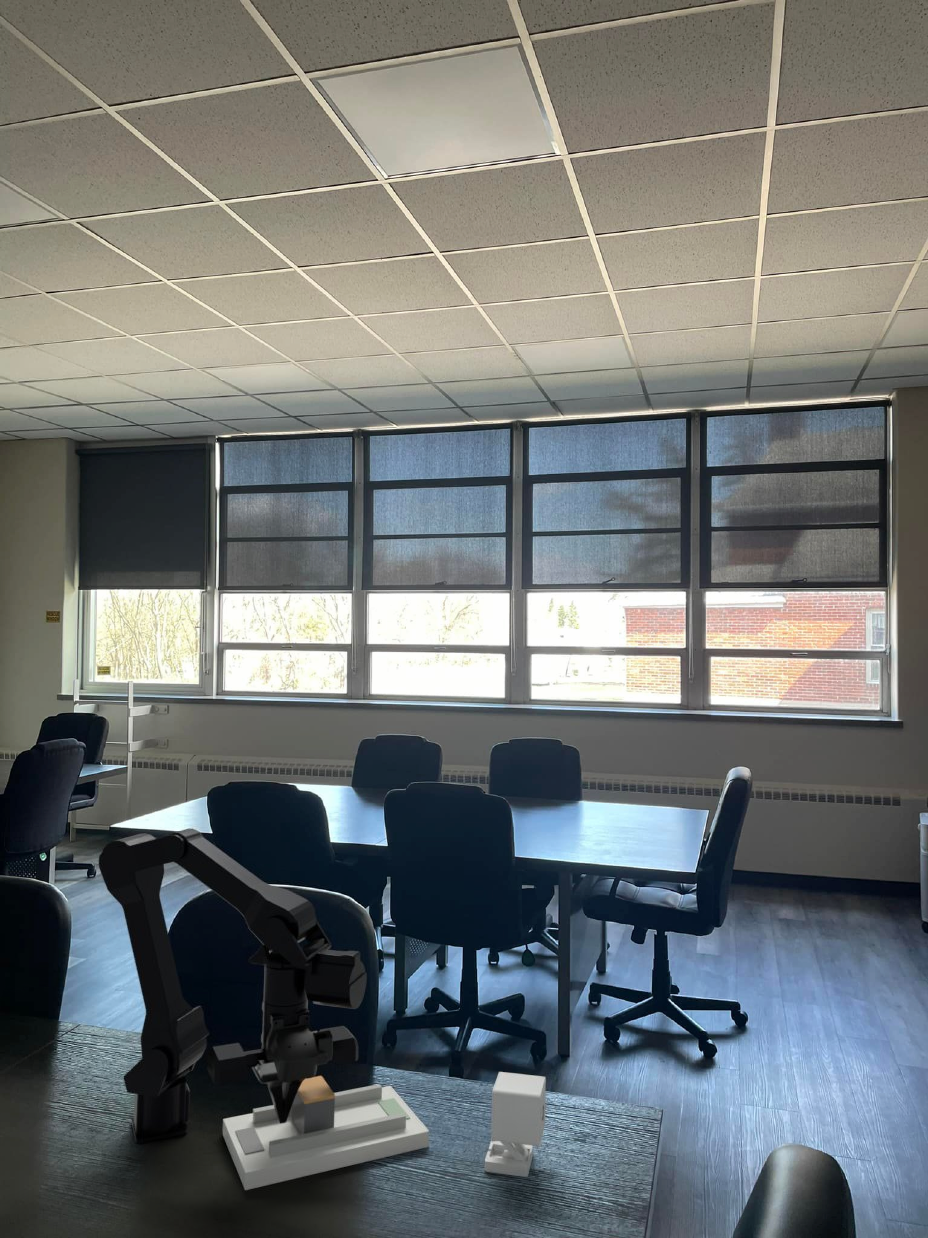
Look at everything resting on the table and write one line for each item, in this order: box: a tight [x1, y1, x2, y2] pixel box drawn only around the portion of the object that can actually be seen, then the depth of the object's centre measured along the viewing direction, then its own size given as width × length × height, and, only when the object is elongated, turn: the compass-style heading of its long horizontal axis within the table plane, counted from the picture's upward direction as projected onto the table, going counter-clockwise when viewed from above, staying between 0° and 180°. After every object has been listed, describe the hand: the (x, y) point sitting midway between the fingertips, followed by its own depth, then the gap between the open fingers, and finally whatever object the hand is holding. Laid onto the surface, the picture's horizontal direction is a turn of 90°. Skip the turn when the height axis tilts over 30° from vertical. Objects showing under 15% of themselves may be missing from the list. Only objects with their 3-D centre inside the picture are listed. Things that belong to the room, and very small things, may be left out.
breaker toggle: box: [291, 1075, 335, 1135], centre depth 116 cm, size 4×6×5 cm, turn 26°
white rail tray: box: [222, 1083, 430, 1191], centre depth 117 cm, size 24×14×4 cm, turn 116°
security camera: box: [484, 1071, 547, 1178], centre depth 113 cm, size 6×7×10 cm
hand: (282, 1122), depth 114 cm, fingers closed
